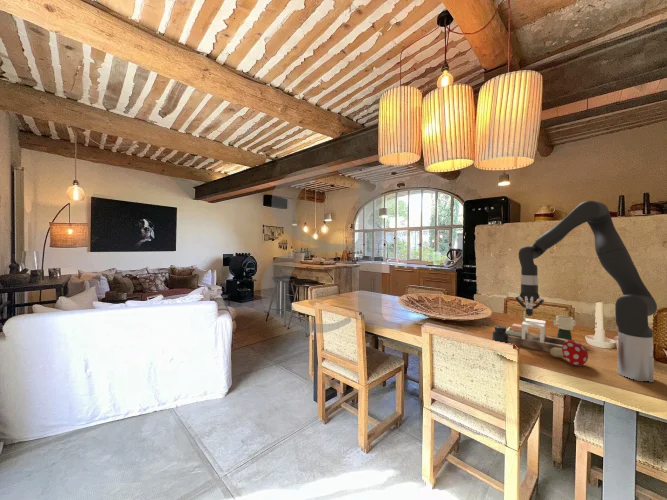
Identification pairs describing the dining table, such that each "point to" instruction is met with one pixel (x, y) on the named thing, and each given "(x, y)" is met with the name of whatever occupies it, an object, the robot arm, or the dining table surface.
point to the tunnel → (534, 324)
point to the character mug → (564, 326)
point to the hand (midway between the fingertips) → (529, 315)
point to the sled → (509, 331)
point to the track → (536, 341)
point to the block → (517, 328)
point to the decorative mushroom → (571, 352)
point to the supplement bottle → (500, 334)
